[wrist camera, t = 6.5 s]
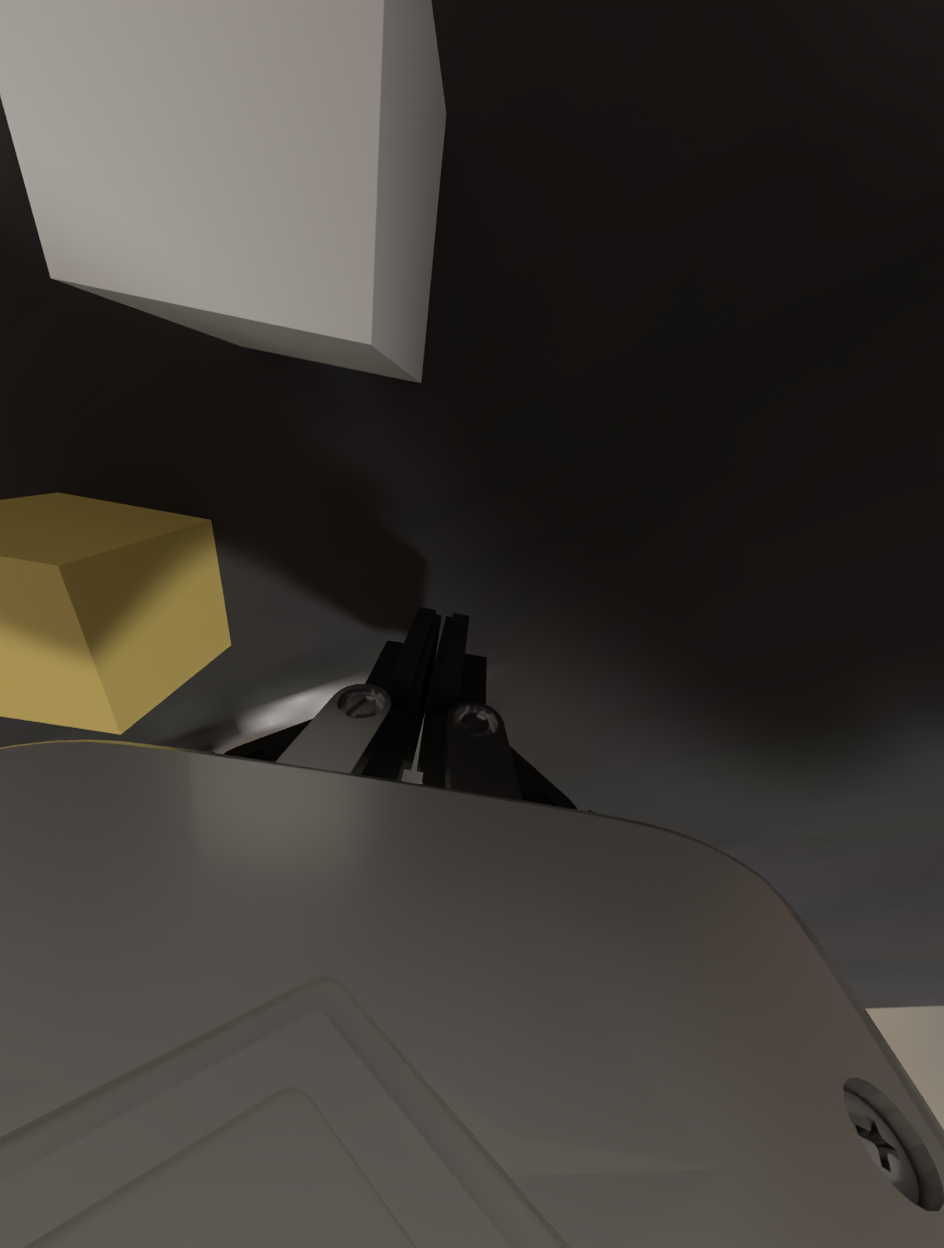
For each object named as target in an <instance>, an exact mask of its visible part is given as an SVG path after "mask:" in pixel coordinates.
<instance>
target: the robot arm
mask: <svg viewBox="0 0 944 1248" xmlns="http://www.w3.org/2000/svg"><path fill="white" fill-rule="evenodd" d="M440 622H441V615H436V610H432V609H427V608H421V607H419V609H418V611H417V614H416V616H415V618H414V621H413V623H412V625H411V628H410V630H409V633H408V635H407V637H406V640H405V642H404V643H400V642H394V641H387V642H386V644H385V646H384V648H383V650H382V652H381V654H380V656H379V658H378V660H377V662H376V664H375V666H374V668H373V670H372V672H371V674H370V676H369V678H368V679H367V681H366V683H365V684H355V685H351V686H347V687H345V688H343V689H341V690H339V691H338V692H337V693H336V694H335V695H334V696H333V697H332V698H331V699H330V700H329V701H328V703H327V704H326V705H325V706H324V707H323V708H322V709H321V711H320V712H319V713H318V714H317V715H316V716H315V717H314V718H313V719H311V720H308V721H306V722H303V723H300V724H297V725H295V726H292V727H289V728H287V729H284V730H281V731H278V732H276V733H273V734H270V735H268V736H265V737H262V738H259V739H257V740H254V741H251V742H249V743H246V744H243V745H240V746H238V747H236V748H233V749H231V750H229V751H227V752H226V753H224V754H218V753H214V752H204V751H197V750H190V749H183V748H175V747H166V746H158V745H149V744H140V743H131V742H122V741H105V740H65V741H48V742H40V743H31V744H22V745H14V746H8V747H3V748H0V1248H944V1130H943V1128H942V1126H941V1125H940V1123H939V1122H938V1120H937V1119H936V1117H935V1115H934V1114H933V1112H932V1111H931V1109H930V1107H929V1106H928V1104H927V1103H926V1101H925V1100H924V1098H923V1096H922V1095H921V1093H920V1092H919V1090H918V1089H917V1087H916V1086H915V1084H914V1083H913V1082H912V1080H911V1078H910V1077H909V1075H908V1074H907V1072H906V1071H905V1069H904V1068H903V1066H902V1064H901V1063H900V1061H899V1060H898V1059H897V1057H896V1055H895V1054H894V1052H893V1051H892V1049H891V1048H890V1046H889V1045H888V1043H887V1042H886V1040H885V1039H884V1037H883V1036H882V1034H881V1033H880V1031H879V1030H878V1028H877V1026H876V1025H875V1023H874V1022H873V1020H872V1019H871V1017H870V1016H869V1014H868V1013H867V1011H866V1010H865V1008H864V1007H863V1005H862V1004H861V1002H860V1000H859V999H858V998H857V996H856V995H855V993H854V992H853V990H852V989H851V987H850V986H849V984H848V983H847V982H846V980H845V979H844V977H843V976H842V974H841V973H840V971H839V970H838V968H837V967H836V965H835V964H834V963H833V961H832V960H831V958H830V957H829V956H828V954H827V953H826V952H825V950H824V949H823V947H822V946H821V945H820V943H819V942H818V940H817V939H816V938H815V936H814V935H813V934H812V932H811V931H810V929H809V928H808V927H807V925H806V924H805V923H804V922H803V920H802V919H801V918H800V916H799V915H798V914H797V913H796V911H795V910H794V909H793V908H792V907H791V906H790V904H789V903H788V902H787V901H786V900H785V898H784V897H783V896H782V895H781V894H780V893H779V892H778V891H777V890H776V889H775V888H774V887H773V886H772V885H771V884H770V883H769V882H767V881H766V880H765V879H764V878H763V877H761V876H760V875H759V874H758V873H757V872H755V871H754V870H752V869H751V868H749V867H748V866H746V865H745V864H743V863H742V862H740V861H738V860H736V859H735V858H733V857H731V856H730V855H728V854H726V853H724V852H722V851H720V850H718V849H716V848H714V847H712V846H710V845H708V844H706V843H704V842H702V841H700V840H697V839H694V838H692V837H689V836H686V835H684V834H681V833H678V832H676V831H673V830H670V829H666V828H662V827H659V826H655V825H652V824H648V823H644V822H639V821H634V820H629V819H624V818H619V817H614V816H609V815H604V814H599V813H595V812H592V811H589V810H588V811H582V810H577V808H576V806H575V805H574V804H573V803H572V802H571V801H570V799H569V798H568V797H566V796H565V795H564V794H563V793H562V792H561V791H560V790H559V789H557V788H556V787H555V786H554V785H553V784H552V783H551V782H550V781H548V780H547V779H546V778H545V777H544V776H543V775H542V774H541V773H539V772H538V771H537V770H536V769H535V768H534V767H533V766H532V765H531V764H529V763H528V762H527V761H526V760H525V759H524V758H523V757H522V756H520V755H519V754H518V753H517V752H516V751H515V750H514V749H513V748H511V747H510V746H509V742H508V738H507V734H506V730H505V726H504V722H503V720H502V718H501V716H500V715H499V714H498V712H497V711H496V710H494V709H493V708H491V707H490V706H488V705H486V666H487V658H486V657H482V656H476V655H470V654H465V649H466V641H467V632H468V624H469V616H467V615H461V614H456V613H453V617H448V616H446V620H445V624H444V628H443V632H442V636H441V640H440V644H439V648H438V652H437V656H436V650H437V643H438V636H439V629H440ZM435 657H436V660H435ZM434 663H435V664H434ZM424 714H425V717H424ZM423 718H424V724H423V731H422V738H421V745H420V752H419V759H418V767H417V771H419V772H424V773H423V779H422V782H423V784H415V783H409V782H402V781H401V779H402V775H403V771H404V769H407V770H411V768H412V764H413V760H414V756H415V752H416V748H417V743H418V739H419V735H420V731H421V727H422V723H423Z"/></svg>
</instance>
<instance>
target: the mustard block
mask: <svg viewBox="0 0 944 1248" xmlns="http://www.w3.org/2000/svg"><path fill="white" fill-rule="evenodd" d="M229 646H231V641H230V635H229V629H228V623H227V616H226V610H225V604H224V598H223V591H222V585H221V579H220V572H219V566H218V560H217V554H216V547H215V541H214V535H213V528H212V522H211V520H209V519H203V518H198V517H192V516H186V515H181V514H175V513H170V512H164V511H159V510H153V509H147V508H142V507H136V506H131V505H125V504H120V503H114V502H108V501H103V500H97V499H92V498H86V497H81V496H75V495H69V494H64V493H50V494H42V495H35V496H27V497H19V498H12V499H4V500H0V716H3V717H9V718H16V719H22V720H29V721H35V722H42V723H49V724H55V725H62V726H68V727H75V728H81V729H88V730H94V731H101V732H108V733H114V734H122V733H123V732H124V731H126V730H127V729H128V728H129V727H131V726H132V725H133V724H134V723H135V722H137V721H138V720H139V719H140V718H142V717H143V716H144V715H145V714H147V713H148V712H149V711H150V710H152V709H153V708H154V707H155V706H156V705H158V704H159V703H160V702H161V701H163V700H164V699H165V698H166V697H168V696H169V695H170V694H171V693H173V692H174V691H175V690H176V689H177V688H179V687H180V686H181V685H182V684H184V683H185V682H186V681H187V680H189V679H190V678H191V677H192V676H193V675H195V674H196V673H197V672H198V671H200V670H201V669H202V668H203V667H205V666H206V665H207V664H208V663H210V662H211V661H212V660H213V659H214V658H216V657H217V656H218V655H219V654H221V653H222V652H223V651H224V650H226V649H227V648H228V647H229Z"/></svg>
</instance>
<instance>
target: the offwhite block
mask: <svg viewBox="0 0 944 1248" xmlns="http://www.w3.org/2000/svg"><path fill="white" fill-rule="evenodd" d="M0 96H1V100H2V103H3V107H4V111H5V114H6V118H7V122H8V125H9V129H10V132H11V136H12V140H13V143H14V147H15V151H16V154H17V158H18V161H19V165H20V169H21V172H22V176H23V180H24V183H25V187H26V190H27V194H28V198H29V201H30V205H31V209H32V212H33V216H34V219H35V223H36V227H37V230H38V234H39V238H40V241H41V245H42V248H43V252H44V256H45V259H46V263H47V267H48V270H49V274H50V277H51V278H52V279H54V280H57V281H60V282H63V283H66V284H68V285H71V286H74V287H77V288H80V289H82V290H85V291H88V292H91V293H94V294H96V295H99V296H102V297H105V298H108V299H110V300H113V301H116V302H119V303H121V304H124V305H127V306H130V307H133V308H135V309H138V310H141V311H144V312H147V313H149V314H152V315H155V316H158V317H161V318H163V319H166V320H169V321H172V322H175V323H177V324H180V325H183V326H186V327H188V328H191V329H194V330H197V331H200V332H202V333H205V334H208V335H211V336H214V337H216V338H219V339H222V340H225V341H228V342H230V343H233V344H236V345H239V346H242V347H246V348H251V349H256V350H261V351H266V352H271V353H276V354H281V355H286V356H290V357H295V358H300V359H305V360H310V361H315V362H320V363H325V364H330V365H334V366H339V367H344V368H349V369H354V370H359V371H364V372H369V373H374V374H378V375H383V376H388V377H393V378H398V379H403V380H408V381H413V382H417V383H421V380H422V369H423V359H424V348H425V337H426V326H427V316H428V305H429V294H430V284H431V273H432V262H433V251H434V241H435V230H436V219H437V208H438V198H439V187H440V176H441V166H442V155H443V144H444V133H445V123H446V108H445V100H444V93H443V85H442V77H441V70H440V62H439V55H438V47H437V39H436V32H435V24H434V16H433V9H432V1H431V0H0Z"/></svg>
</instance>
